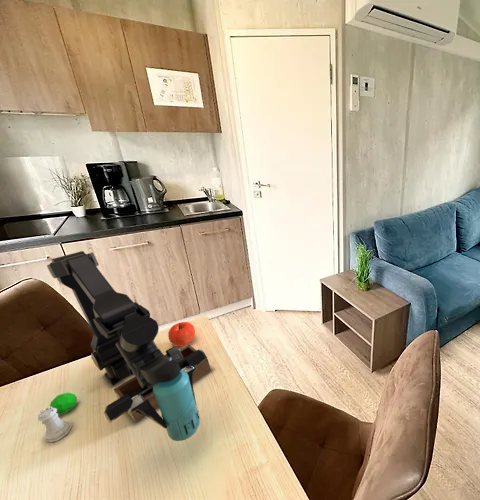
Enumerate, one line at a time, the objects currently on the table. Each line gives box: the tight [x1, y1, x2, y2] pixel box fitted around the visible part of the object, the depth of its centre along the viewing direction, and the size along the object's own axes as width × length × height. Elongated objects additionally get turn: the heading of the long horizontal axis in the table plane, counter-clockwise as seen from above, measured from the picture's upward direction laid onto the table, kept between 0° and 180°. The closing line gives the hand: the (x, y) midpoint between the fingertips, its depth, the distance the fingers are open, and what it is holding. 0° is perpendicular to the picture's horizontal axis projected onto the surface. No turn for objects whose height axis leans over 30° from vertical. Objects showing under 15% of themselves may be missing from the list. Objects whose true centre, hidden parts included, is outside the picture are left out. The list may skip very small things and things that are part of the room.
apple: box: [167, 321, 196, 347], centre depth 97 cm, size 8×8×8 cm
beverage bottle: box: [153, 360, 201, 442], centre depth 59 cm, size 6×7×20 cm
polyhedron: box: [49, 392, 78, 415], centre depth 74 cm, size 5×5×5 cm
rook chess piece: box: [37, 406, 72, 443], centre depth 68 cm, size 4×4×8 cm
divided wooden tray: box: [113, 344, 212, 424], centre depth 81 cm, size 11×20×5 cm, turn 146°
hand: (181, 416), depth 60 cm, fingers closed on beverage bottle, 6 cm apart
